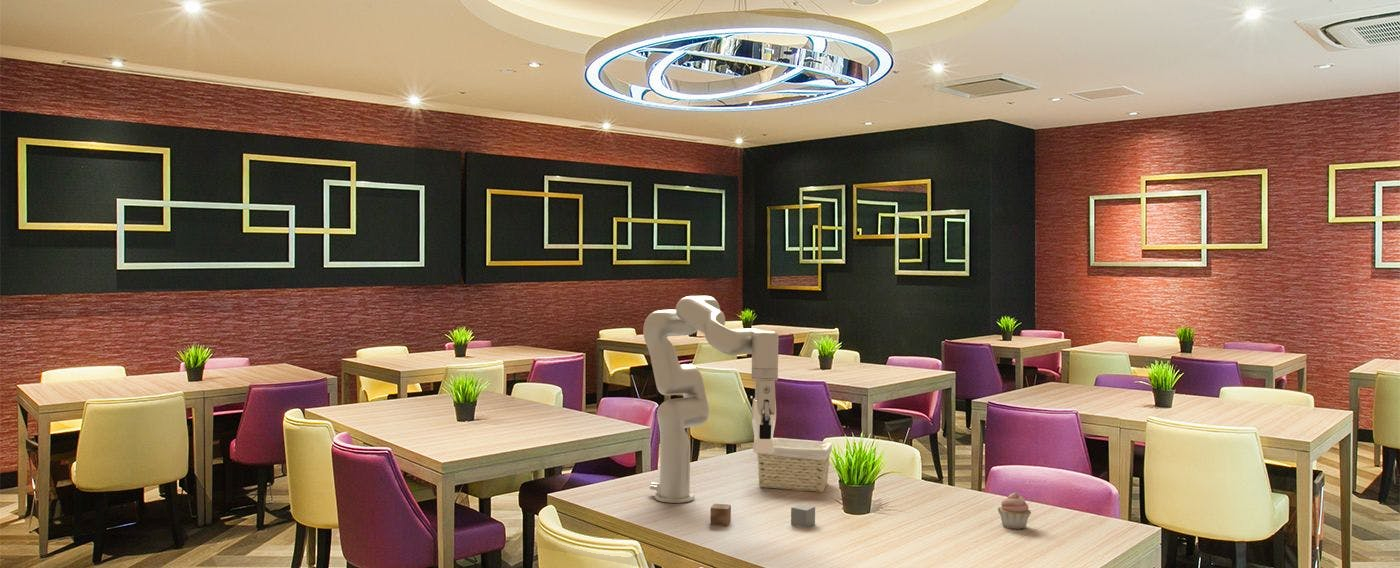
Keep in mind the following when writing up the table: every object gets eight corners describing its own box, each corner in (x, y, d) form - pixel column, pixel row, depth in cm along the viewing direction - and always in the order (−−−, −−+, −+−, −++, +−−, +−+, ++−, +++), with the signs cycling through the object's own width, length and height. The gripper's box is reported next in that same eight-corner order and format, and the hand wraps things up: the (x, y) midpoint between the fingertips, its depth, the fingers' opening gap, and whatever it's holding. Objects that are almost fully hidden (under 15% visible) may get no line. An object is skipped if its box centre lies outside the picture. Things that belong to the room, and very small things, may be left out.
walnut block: (710, 525, 261) (710, 507, 261) (713, 520, 266) (714, 503, 265) (727, 526, 260) (727, 509, 259) (730, 521, 264) (730, 504, 264)
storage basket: (832, 483, 314) (833, 440, 314) (826, 494, 298) (827, 449, 298) (763, 478, 320) (764, 436, 320) (754, 489, 304) (755, 444, 304)
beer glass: (773, 454, 258) (774, 401, 257) (749, 453, 259) (750, 400, 259) (776, 449, 264) (777, 398, 264) (753, 448, 266) (753, 397, 266)
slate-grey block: (790, 524, 262) (791, 507, 262) (800, 521, 266) (800, 504, 266) (806, 527, 259) (806, 510, 259) (814, 524, 263) (815, 506, 263)
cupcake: (1014, 533, 257) (1015, 497, 256) (990, 524, 265) (990, 490, 265) (1038, 529, 261) (1039, 494, 261) (1013, 520, 269) (1014, 486, 269)
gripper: (781, 377, 253) (780, 442, 253) (773, 370, 270) (772, 431, 270) (754, 377, 252) (753, 442, 253) (748, 370, 270) (747, 430, 270)
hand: (763, 435), depth 262 cm, fingers closed on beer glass, 6 cm apart
